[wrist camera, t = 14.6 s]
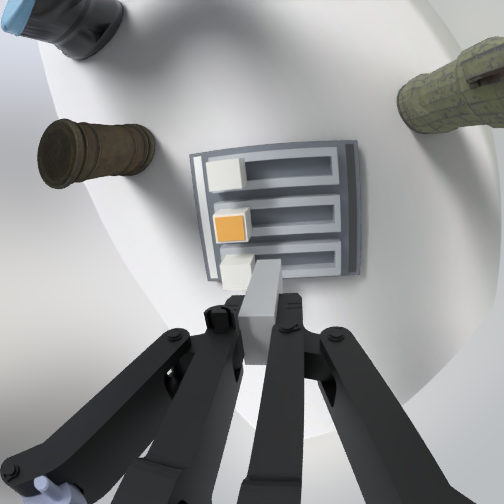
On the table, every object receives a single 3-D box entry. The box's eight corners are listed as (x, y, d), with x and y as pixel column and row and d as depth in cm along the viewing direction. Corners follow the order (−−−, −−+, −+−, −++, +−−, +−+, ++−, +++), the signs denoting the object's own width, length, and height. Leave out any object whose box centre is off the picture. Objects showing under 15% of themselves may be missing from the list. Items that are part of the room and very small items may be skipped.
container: (165, 142, 39) (92, 138, 22) (136, 186, 42) (61, 206, 25) (129, 114, 38) (53, 103, 21) (104, 157, 41) (28, 166, 24)
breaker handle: (225, 206, 39) (211, 215, 33) (252, 203, 38) (244, 212, 32) (228, 230, 40) (216, 243, 34) (254, 228, 39) (247, 242, 33)
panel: (194, 154, 39) (169, 154, 31) (353, 141, 35) (370, 136, 27) (211, 276, 45) (194, 301, 37) (356, 269, 42) (370, 295, 33)
